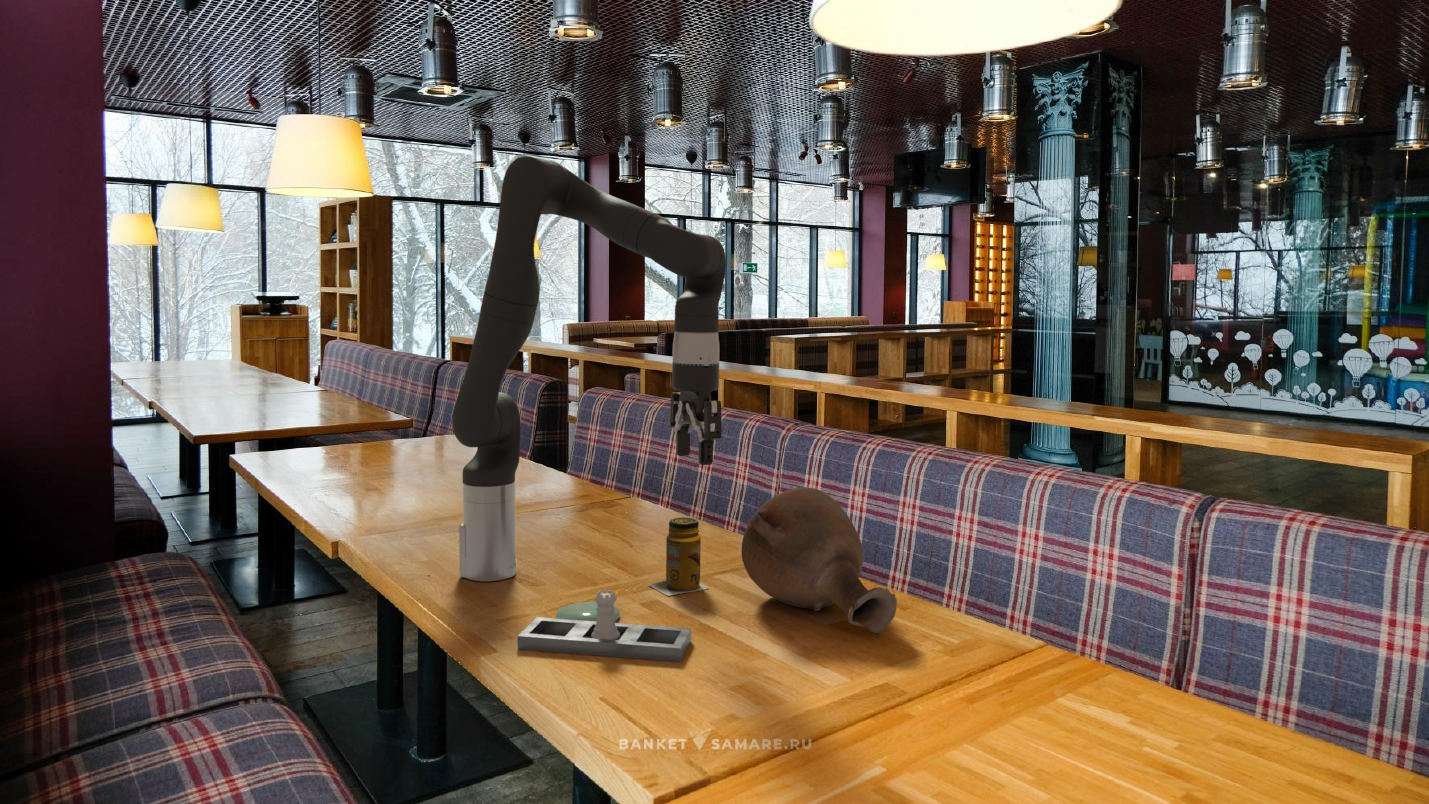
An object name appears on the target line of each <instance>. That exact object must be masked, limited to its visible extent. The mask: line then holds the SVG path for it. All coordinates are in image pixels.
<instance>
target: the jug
mask: <svg viewBox="0 0 1429 804" xmlns="http://www.w3.org/2000/svg"><path fill="white" fill-rule="evenodd" d="M741 559H742V560H741V561H742V563H743V567H744V569H745V572H747V576H748V577H749V578H750V579H751V580H752V582H753V583H754V584H755V585H756V586H757V587H758V588H759V589H761V590H762V591H763V592H764V593H765V594H766V595H768V596H769V597H771V598H772V599H775V600H776V601H779V602H781V603H783V604H787V605H789V606H793V607H796V608H801V609H810V610H811V609H812V610H813V611H814V612H820V610H821V609H822V608H827V607H831V606H832V605H834V604H835V605H836V606H837V607H838V608H839V609H840V610H841V611H842V612H843V614H844V615H845V616H846V619H847V621H848V623H849V624H851V625H853V626H861V627H863V628H865V629H867V630H869V631H870V632H871V633H876V634H878V635H879V634H880V633H882V632H884V630H886V628H887V627H888V626H890V624H891V622H892V621H893V620H894V618H895V615H896V612H897V607H898V604H897V603H898V601H897V600H898V599H897V597H896V595H895V593H892V592H891V591H890V589H889V588H884V587H879V586H878V587H873V588H871V589H868V588H867V587H866V586H865V585H864V583H862V581H861V580H860V576H861V573H862V569H863V565H864V551H863V545H862V541H861V538H860V535H859V533H858V532H857V530H856V527H855V526H854V523H853V522H852V520H851V518H850V517H849V515H848V514H847V512H846V511H845V510H844V509H843V507H842V506H841V505H840V504H839V503H838V501H837V500H835V498H833V497H832V496H831V495H829V494H828V493H826V492H824V491H822V490H820V489H818V488H813V487H807V486H806V487H805V486H804V487H803V486H802V487H795V488H792V489H788V490H785V491H783V492H781V493H778V494H777V495H775V496H773V497H771V498H769V499H768V500H767V501H766V502H765V503H764V504H762V505H761V506H760V507H759V508H758V509H757V510H756V511H755V512H754V513H753V515H752V516H751V517H750V518H749V522H748V524H747V525H746V528H745V531H744V533H743V537H742V541H741Z"/></svg>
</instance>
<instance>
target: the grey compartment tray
mask: <svg viewBox="0 0 1429 804" xmlns="http://www.w3.org/2000/svg"><path fill="white" fill-rule="evenodd" d="M615 625H616V627H617V631H618V632H619V633H620V638H619V640H608V639H595V638H591V634H592V633H593V631H594V628H595V626H596V621H582V620H568V619H556V618H554V617H552V618H551V617H540V616H538V617H535V619H533V620H532V622H530V623H529V624H528V625H527V626H526V627H525V628H524V629H523V630H522V631H521V632H520V633H519V634H518V635H517V650H523V651H534V652H536V651H537V652H549V653H559V654H570V655H571V654H572V655H575V654H576V655H585V656H586V655H588V656H597V657H598V656H599V657H600V656H601V657H609V658H610V657H613V658H614V657H615V658H623V659H624V658H625V659H636V660H637V659H638V660H648V661H649V660H650V661H662V662H665V661H666V662H673V663H674V662H675V663H676V662H677V663H678V662H679V663H681V662H682V660H683V658H684V656H685V654H686V652H687V650H688V648H689V646H690V644H691V642H692V628H690V627H680V626H679V627H677V626H665V625H664V626H662V625H650V624H649V625H648V624H638V623H637V624H636V623H635V624H634V623H621V622H615Z"/></svg>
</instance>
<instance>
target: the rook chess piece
mask: <svg viewBox="0 0 1429 804" xmlns="http://www.w3.org/2000/svg"><path fill="white" fill-rule="evenodd" d="M616 601H617V597H616V595H615V591H612V589H611V590H610V589H608V592H607V590H606V589H603V590H602V591H601V590H598V591H597V592H596V596H595V598H594V602H596V603H597V605H598V606H597V608H596V610H597V622H596V626H595V628H594V631H593V633H592V634H591V638H595V639H608V640H619V638H620V633H619V632H618V631H617V627H616V625H615V623H616V622H615V620H614V610H615V607H614V606H615V605H614V604H615V602H616Z"/></svg>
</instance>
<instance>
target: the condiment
mask: <svg viewBox="0 0 1429 804" xmlns="http://www.w3.org/2000/svg"><path fill="white" fill-rule="evenodd" d="M699 532H700V530H699V521H698V520H697V519H695V518H693V517H675V518H671V519H670V520H669V523H668V533H667V536H666V541H665V542H666V549H665V550H666V552H665V553H666V554H665V555H666V557H665V559H666V560H665V562H666V563H665V580H662V581H659V582H658V581H657V582H649V583H647V585H648V586H649V587H651V588H653V589H654V590H656V591H657V592H659V593H662V594H663V595H665V596H667V597H670V596H677V595H680V594H681V595H682V594H685V593H694V592H698V591H703V590H709V589H710V587H709V586H706V585H704V584H701V583H700V582H701V544H702V543H701V539H702V538H701V535H700V534H699Z"/></svg>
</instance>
